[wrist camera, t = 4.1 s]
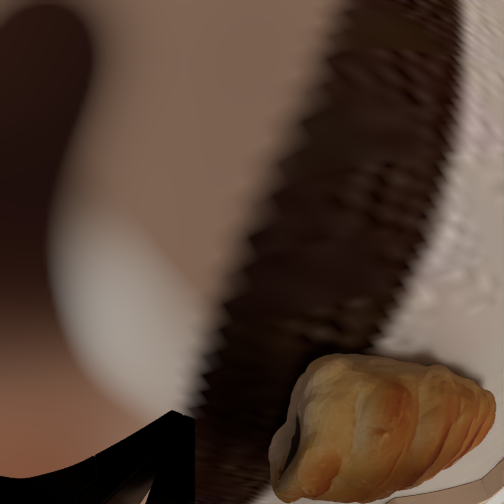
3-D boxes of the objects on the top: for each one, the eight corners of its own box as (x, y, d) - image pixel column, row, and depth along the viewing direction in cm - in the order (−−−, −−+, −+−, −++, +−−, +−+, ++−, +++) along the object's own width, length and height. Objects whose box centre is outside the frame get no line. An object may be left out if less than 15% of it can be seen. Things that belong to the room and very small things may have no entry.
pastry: (506, 348, 7) (551, 398, 3) (437, 451, 8) (453, 503, 5) (300, 332, 8) (296, 428, 4) (264, 451, 10) (250, 520, 6)
